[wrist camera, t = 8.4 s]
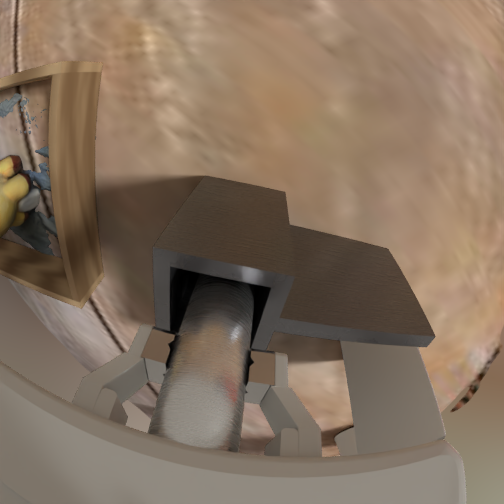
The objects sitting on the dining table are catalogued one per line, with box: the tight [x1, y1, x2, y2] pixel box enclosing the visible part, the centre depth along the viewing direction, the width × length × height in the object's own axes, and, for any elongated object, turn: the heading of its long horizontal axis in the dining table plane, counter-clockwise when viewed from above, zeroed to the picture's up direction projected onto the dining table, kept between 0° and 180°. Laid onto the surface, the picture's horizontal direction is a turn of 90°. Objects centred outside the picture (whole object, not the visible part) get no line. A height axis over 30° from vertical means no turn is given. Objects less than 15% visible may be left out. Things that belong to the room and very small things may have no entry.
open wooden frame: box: [0, 61, 104, 309], centre depth 17 cm, size 23×21×5 cm
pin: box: [148, 273, 256, 453], centre depth 9 cm, size 4×4×14 cm
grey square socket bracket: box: [153, 176, 436, 350], centre depth 20 cm, size 16×16×10 cm
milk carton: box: [340, 341, 446, 455], centre depth 19 cm, size 7×7×19 cm
